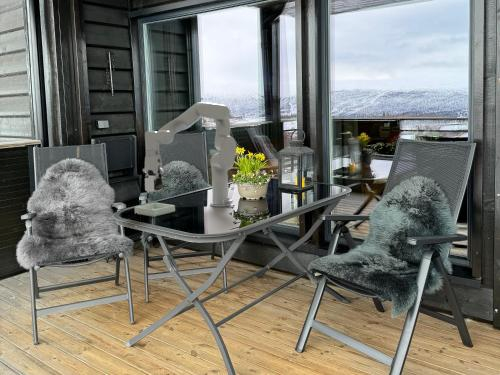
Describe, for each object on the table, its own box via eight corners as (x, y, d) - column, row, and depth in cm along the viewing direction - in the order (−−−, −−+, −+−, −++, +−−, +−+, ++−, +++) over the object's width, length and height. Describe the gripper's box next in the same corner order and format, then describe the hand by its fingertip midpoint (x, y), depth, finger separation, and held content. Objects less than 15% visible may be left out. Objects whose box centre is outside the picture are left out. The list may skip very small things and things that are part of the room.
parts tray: (175, 211, 296) (174, 205, 296) (154, 216, 284) (154, 210, 283) (155, 208, 306) (155, 202, 305) (134, 213, 293) (134, 207, 292)
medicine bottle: (154, 191, 288) (153, 170, 286) (144, 190, 291) (144, 169, 289) (163, 189, 294) (162, 168, 292) (153, 188, 297) (152, 168, 295)
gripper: (168, 153, 287) (169, 185, 290) (146, 152, 297) (148, 182, 300) (158, 154, 281) (159, 186, 284) (136, 153, 291) (138, 184, 294)
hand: (153, 184), depth 292 cm, fingers closed on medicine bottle, 7 cm apart
